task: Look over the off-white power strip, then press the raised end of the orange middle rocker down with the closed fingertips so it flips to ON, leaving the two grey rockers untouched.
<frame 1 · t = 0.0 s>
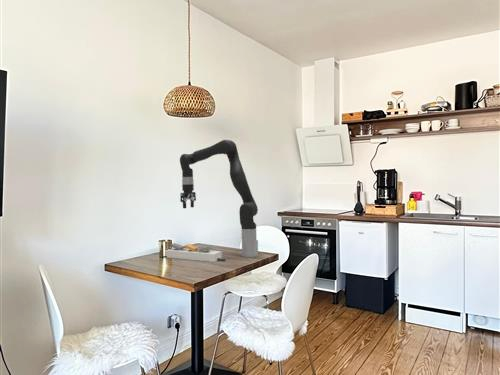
hand: (188, 207, 244), 29 cm above the table, tool pointing down, fingers open, 8 cm apart
rocker far: (177, 246, 227), point 6 cm above the table, hinge at -14.0°
rocker middle: (191, 247, 223), point 6 cm above the table, hinge at -14.0°
rocker near: (205, 248, 218), point 6 cm above the table, hinge at 14.0°
power strip: (191, 257, 223), on the table
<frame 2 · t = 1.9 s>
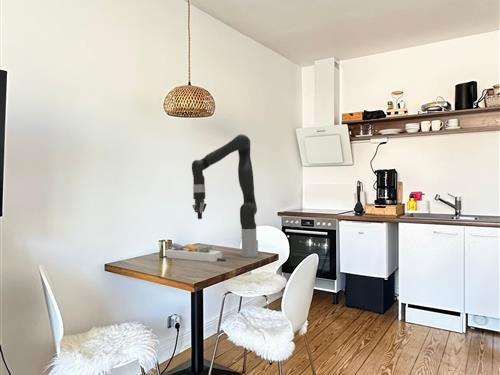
hand: (199, 218, 230), 23 cm above the table, tool pointing down, fingers closed
nothing on the table moved.
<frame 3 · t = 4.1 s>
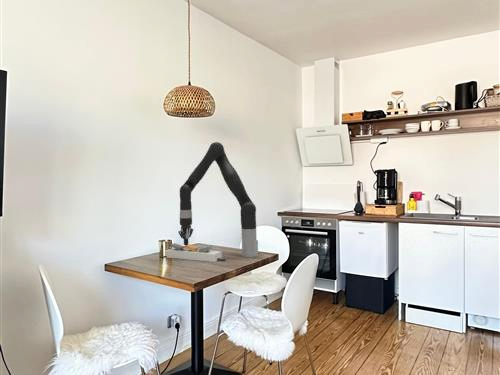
hand: (186, 244, 224), 8 cm above the table, tool pointing down, fingers closed
rocker middle: (191, 247, 223), point 6 cm above the table, hinge at -11.5°, touching gripper
everything else where it was.
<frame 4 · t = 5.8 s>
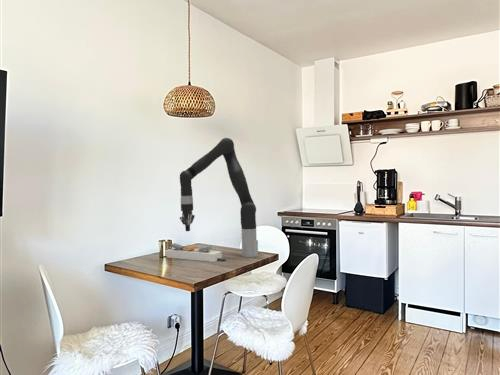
hand: (187, 231, 224), 16 cm above the table, tool pointing down, fingers closed
rocker middle: (190, 247, 223), point 6 cm above the table, hinge at 7.3°
everything else where it was.
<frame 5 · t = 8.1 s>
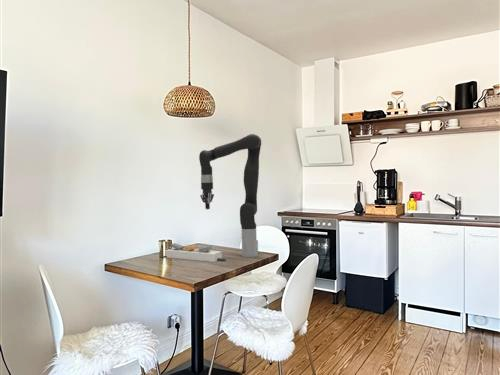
hand: (207, 209, 231), 29 cm above the table, tool pointing down, fingers closed
rocker middle: (190, 247, 223), point 6 cm above the table, hinge at 7.8°
everything else where it was.
at the end: rocker middle at +8° (first picture: -14°); rocker near at +14° (first picture: +14°); rocker far at -14° (first picture: -14°) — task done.
